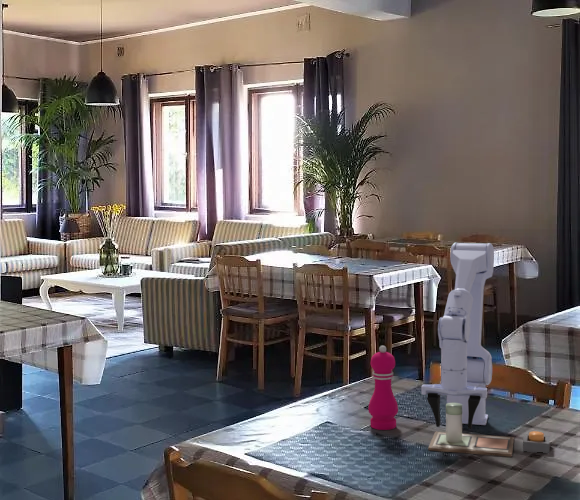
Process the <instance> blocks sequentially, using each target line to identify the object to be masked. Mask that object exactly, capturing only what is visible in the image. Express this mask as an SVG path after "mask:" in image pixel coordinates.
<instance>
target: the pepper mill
mask: <svg viewBox="0 0 580 500" xmlns="http://www.w3.org/2000/svg"><path fill="white" fill-rule="evenodd" d="M369 364H370V366H371V368H372V370H373V371H372V378H373V379H374V390H373V394H372V395H371V397H370V400H369V403H368V413H369V415H370V416H371V418H370V424H369V425H370V427H371V428H372V429H375V430H379V431H388V430H389V431H390V430H393V429H395V428H396V427H397V418H395V417H396V415H397V414H398V413H399V405H398V402H397V399H396V398H395V395H394V393H393V392H394V391H393V389H392V379H393V378H394V372H393V370H394V368H395V366H396V360H395V356H394V355H393V354H392V353H391V352H389V351H387V347H386V346H385V345H380V346H379V348H378V352H375V353H374V354H373V355H372V356H371V359H370V363H369Z"/></svg>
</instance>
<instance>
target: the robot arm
mask: <svg viewBox="0 0 580 500" xmlns="http://www.w3.org/2000/svg"><path fill="white" fill-rule="evenodd" d="M494 248H495V247H494V246H493V244H492V243H491V242H487V243H482V242H479V243H475V242H474V243H470V242H457V241H456V242H454V243H453V244H452V245H451V248H450V252H449V253H450V254H449V255H450V259H449V260H450V264H451V267H452V269H453V272H454V273H455V282H454V283H455V284H454V289H452V290H451V291H450V292H449V293H448V296H447V299H446V300H447V301H446V304H445V309H444V314H443V316H441V317H439V320H438V322H437V323H438V324H437V336H438V340H439V341H438V342H439V348H440V356H441V361H440V362H441V363H440V366H441V367H440V371H441V373H440V374H441V375H440V377H441V378H440V381H441V382H440V383H439V384H437V383H434V384H430V383H429V384H422V385H421V386H420V388H421V395H422V396H423V395H424V396H426V395H427V397H426V400H427V404H429V407H430V408H431V411H432V413H433V416H434V417H433V418H434V420H435V427H436V428H440V426H441V423H442V422H441V421H442V420H441V396H446V404H447V403H460V404H462V425H464V424H465V425H467V430H472V427H473V425H476V426H477V425H478V426H480V425H481V426H486V425H487V422H488V418H489V414H487V413H486V399H487V397H488V388H487V387H486V386H489V385H490V384H491V382H492V378H493V377H492V376H493V363H492V359H493V357H492V355H491V352H489V351H488V350H487V349H485V348H484V346H482V331H483V330H482V328H483V309H484V308H483V307H484V291H485V289H484V288H485V284H486V280H487V279H490V278H492V277H493V274H494V265H495V264H494V263H495V261H494V260H495V250H494ZM469 357H470V358H469ZM479 358H481V359H479Z"/></svg>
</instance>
